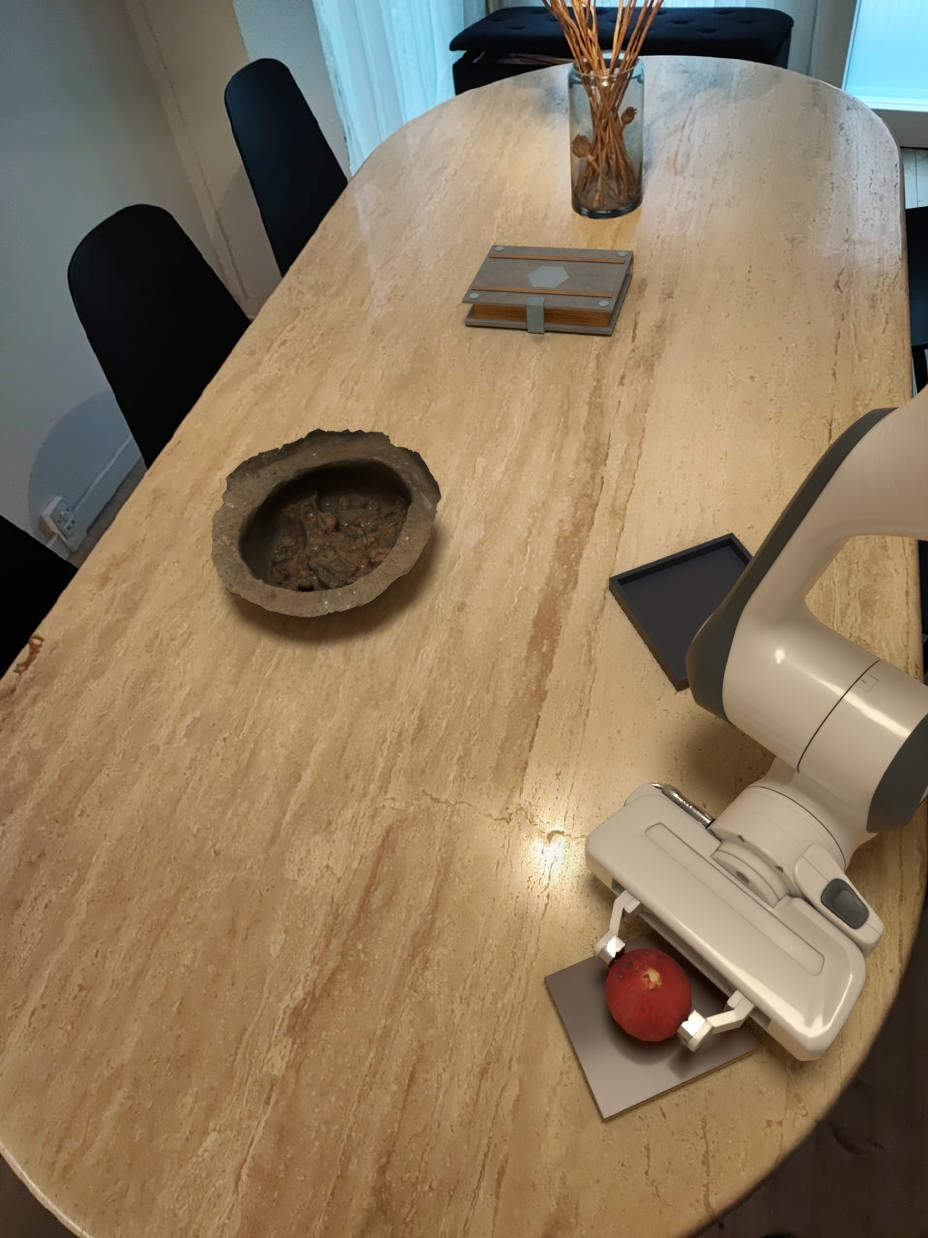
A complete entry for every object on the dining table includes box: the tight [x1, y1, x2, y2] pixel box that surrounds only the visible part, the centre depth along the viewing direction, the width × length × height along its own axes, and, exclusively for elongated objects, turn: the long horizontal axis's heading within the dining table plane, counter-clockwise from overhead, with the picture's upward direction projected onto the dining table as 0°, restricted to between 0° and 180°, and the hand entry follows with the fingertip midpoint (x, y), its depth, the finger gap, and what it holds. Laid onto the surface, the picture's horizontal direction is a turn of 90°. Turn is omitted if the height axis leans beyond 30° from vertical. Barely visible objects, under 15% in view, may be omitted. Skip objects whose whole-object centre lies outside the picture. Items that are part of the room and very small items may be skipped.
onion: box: [605, 948, 692, 1042], centre depth 58 cm, size 6×6×8 cm
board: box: [543, 929, 761, 1124], centre depth 62 cm, size 10×12×1 cm
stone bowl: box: [210, 428, 442, 618], centre depth 92 cm, size 25×25×9 cm
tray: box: [608, 531, 754, 692], centre depth 84 cm, size 14×14×2 cm
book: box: [461, 244, 635, 336], centre depth 121 cm, size 21×16×5 cm
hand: (641, 999), depth 57 cm, fingers open, 6 cm apart
